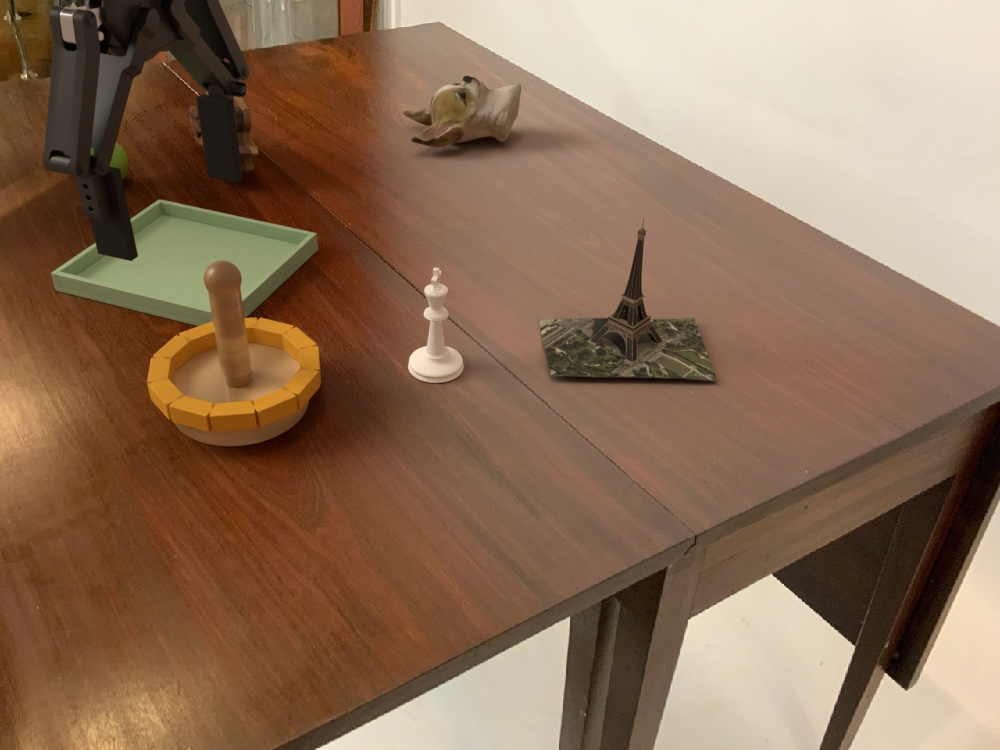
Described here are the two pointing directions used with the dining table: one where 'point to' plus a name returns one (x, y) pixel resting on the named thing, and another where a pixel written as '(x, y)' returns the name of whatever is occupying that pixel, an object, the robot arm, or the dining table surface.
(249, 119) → the wooden carving
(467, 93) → the ceramic sculpture
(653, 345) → the eiffel tower figurine
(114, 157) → the snail figurine
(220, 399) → the post
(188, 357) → the hoop
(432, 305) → the chess piece
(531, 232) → the dining table surface
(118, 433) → the dining table surface
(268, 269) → the tray
